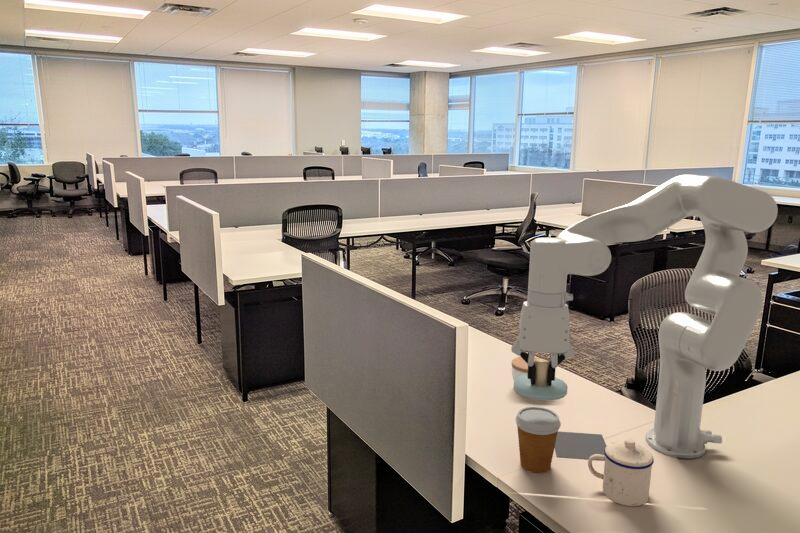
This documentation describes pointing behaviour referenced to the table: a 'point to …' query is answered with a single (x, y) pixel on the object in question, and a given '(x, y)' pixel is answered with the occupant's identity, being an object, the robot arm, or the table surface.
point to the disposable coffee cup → (537, 437)
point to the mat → (579, 445)
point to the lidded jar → (520, 367)
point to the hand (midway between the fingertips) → (540, 381)
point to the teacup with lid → (625, 472)
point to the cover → (540, 384)
